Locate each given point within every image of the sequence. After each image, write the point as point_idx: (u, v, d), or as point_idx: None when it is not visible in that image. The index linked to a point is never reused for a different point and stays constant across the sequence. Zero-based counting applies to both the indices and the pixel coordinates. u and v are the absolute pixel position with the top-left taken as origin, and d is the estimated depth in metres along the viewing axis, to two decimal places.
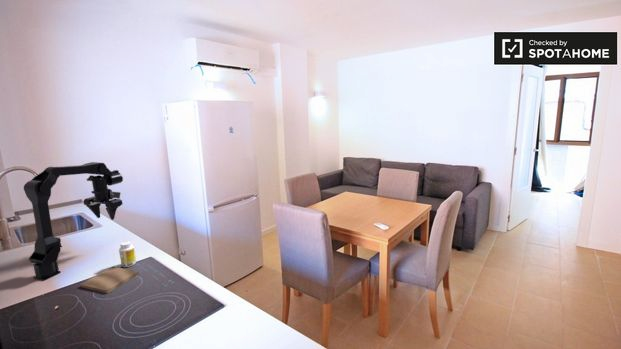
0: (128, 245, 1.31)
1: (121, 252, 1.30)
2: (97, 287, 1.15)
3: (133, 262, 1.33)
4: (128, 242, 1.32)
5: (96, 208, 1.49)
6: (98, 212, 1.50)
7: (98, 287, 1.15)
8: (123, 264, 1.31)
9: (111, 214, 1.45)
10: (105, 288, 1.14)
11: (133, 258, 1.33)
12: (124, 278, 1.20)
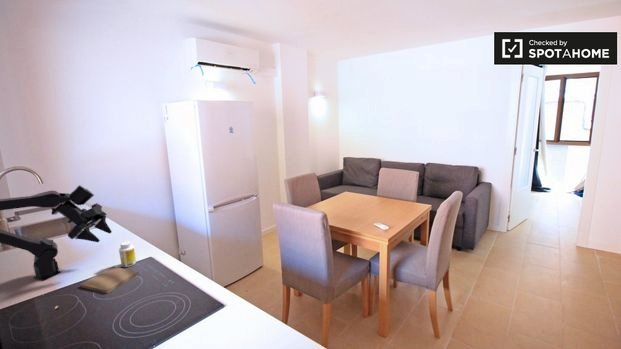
0: (128, 245, 1.31)
1: (121, 252, 1.30)
2: (97, 287, 1.15)
3: (133, 262, 1.33)
4: (128, 242, 1.32)
5: (101, 225, 1.34)
6: (106, 229, 1.34)
7: (98, 287, 1.15)
8: (123, 264, 1.31)
9: (89, 239, 1.24)
10: (105, 288, 1.14)
11: (133, 258, 1.33)
12: (124, 278, 1.20)
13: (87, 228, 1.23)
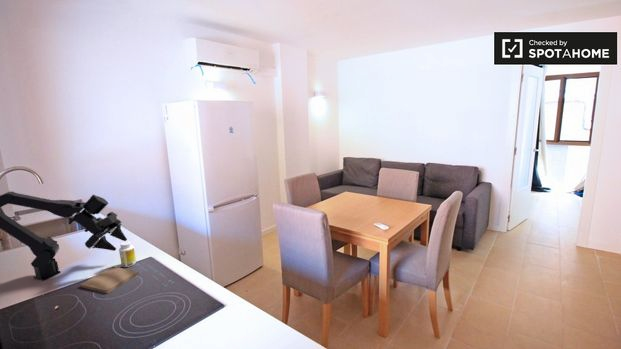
0: (128, 245, 1.31)
1: (121, 252, 1.30)
2: (97, 287, 1.15)
3: (133, 262, 1.33)
4: (128, 242, 1.32)
5: (117, 233, 1.35)
6: (121, 236, 1.35)
7: (98, 287, 1.15)
8: (123, 264, 1.31)
9: (105, 248, 1.25)
10: (105, 288, 1.14)
11: (133, 258, 1.33)
12: (124, 278, 1.20)
13: (104, 237, 1.24)
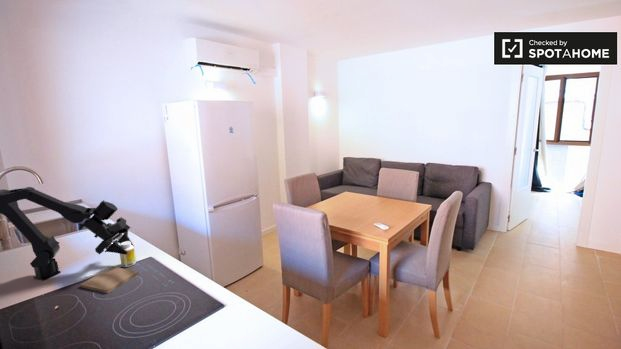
0: (128, 245, 1.31)
1: None
2: (97, 287, 1.15)
3: (133, 262, 1.33)
4: (128, 242, 1.32)
5: (124, 240, 1.35)
6: None
7: (98, 287, 1.15)
8: (123, 264, 1.31)
9: (117, 252, 1.28)
10: (105, 288, 1.14)
11: (133, 258, 1.33)
12: (124, 278, 1.20)
13: (116, 241, 1.26)
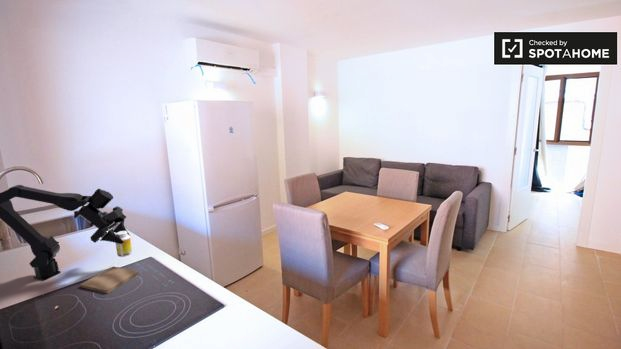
0: (124, 235, 1.28)
1: None
2: (97, 287, 1.15)
3: (129, 252, 1.30)
4: (124, 232, 1.30)
5: (120, 229, 1.32)
6: None
7: (98, 287, 1.15)
8: (119, 254, 1.28)
9: (113, 241, 1.25)
10: (105, 288, 1.14)
11: (129, 248, 1.30)
12: (124, 278, 1.20)
13: (112, 230, 1.24)
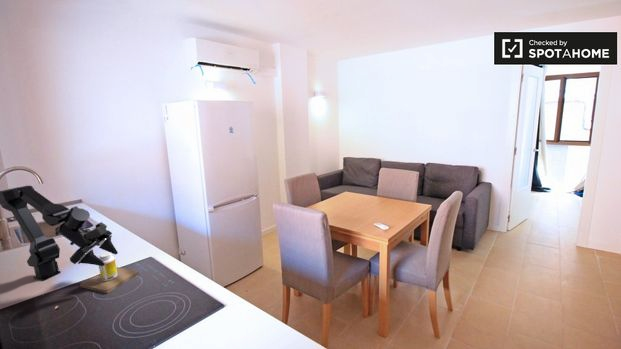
0: (108, 257, 1.18)
1: None
2: (97, 287, 1.15)
3: (114, 275, 1.20)
4: (108, 253, 1.19)
5: (107, 245, 1.23)
6: (112, 249, 1.23)
7: (98, 287, 1.15)
8: (103, 278, 1.18)
9: (93, 263, 1.13)
10: (105, 288, 1.14)
11: (114, 271, 1.20)
12: (124, 278, 1.20)
13: (91, 251, 1.12)
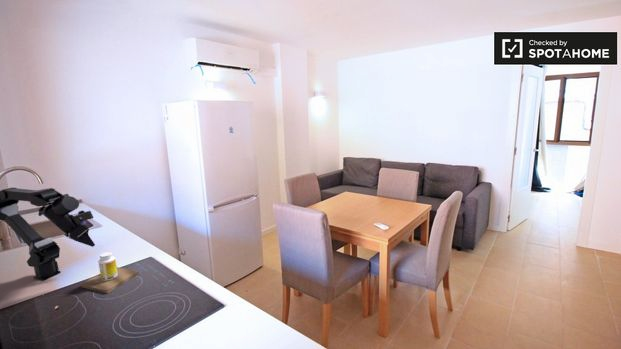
0: (108, 256, 1.18)
1: (100, 264, 1.17)
2: (97, 287, 1.15)
3: (114, 275, 1.20)
4: (109, 253, 1.20)
5: None
6: None
7: (98, 287, 1.15)
8: (103, 277, 1.18)
9: (85, 242, 1.19)
10: (105, 288, 1.14)
11: (114, 271, 1.20)
12: (124, 278, 1.20)
13: None
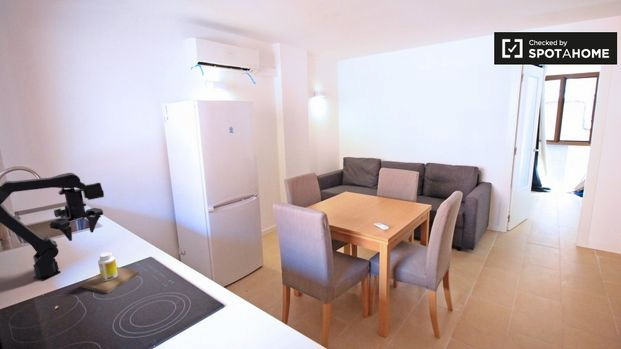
0: (108, 257, 1.18)
1: (100, 264, 1.17)
2: (97, 287, 1.15)
3: (114, 275, 1.20)
4: (108, 253, 1.19)
5: None
6: None
7: (98, 287, 1.15)
8: (103, 278, 1.18)
9: None
10: (105, 288, 1.14)
11: (114, 271, 1.20)
12: (124, 278, 1.20)
13: None
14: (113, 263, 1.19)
